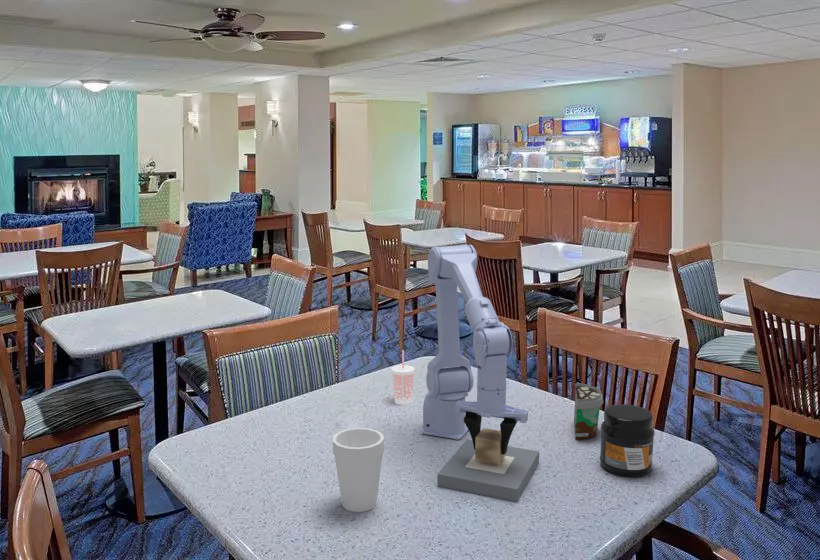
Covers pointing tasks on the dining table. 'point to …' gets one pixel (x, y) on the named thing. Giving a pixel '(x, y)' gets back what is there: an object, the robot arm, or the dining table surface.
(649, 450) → the supplement container
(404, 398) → the beverage cup
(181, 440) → the dining table surface
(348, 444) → the foam cup
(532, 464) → the plinth
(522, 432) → the dining table surface
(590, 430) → the food container
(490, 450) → the oak cube
